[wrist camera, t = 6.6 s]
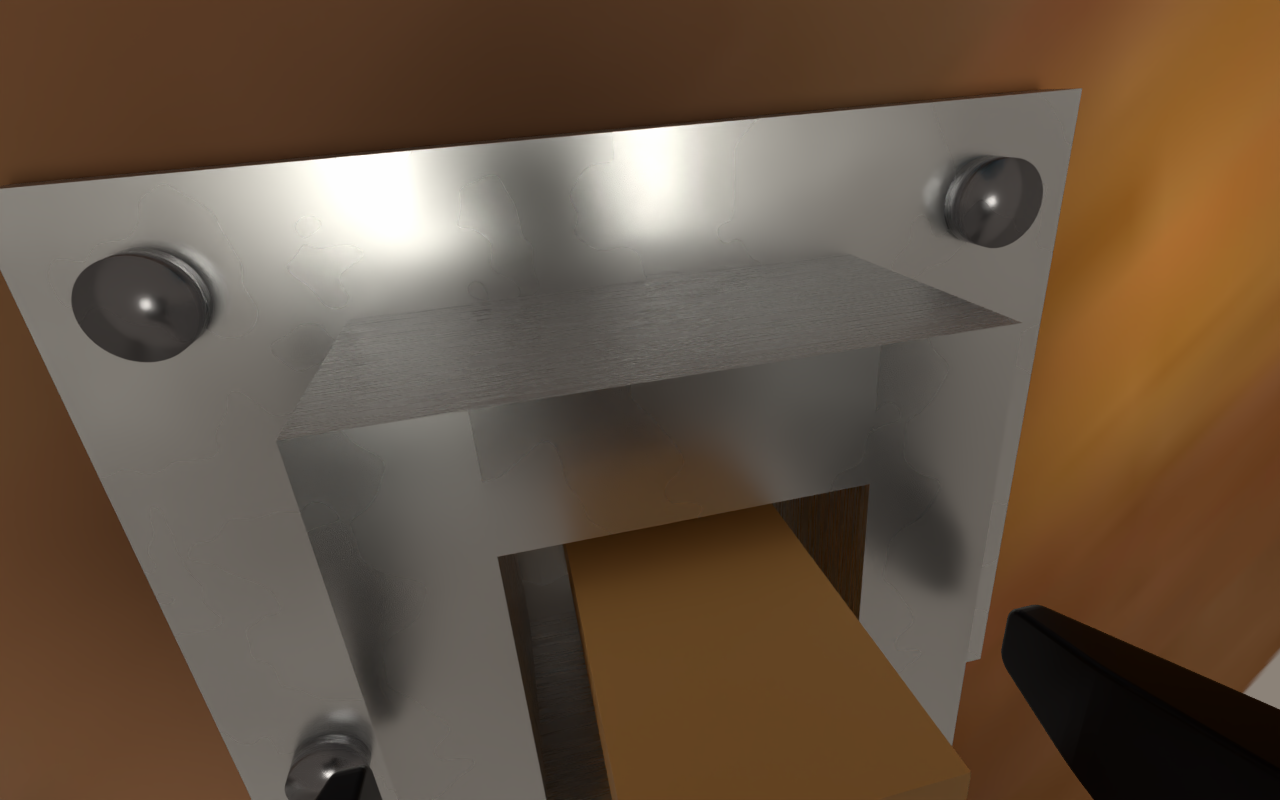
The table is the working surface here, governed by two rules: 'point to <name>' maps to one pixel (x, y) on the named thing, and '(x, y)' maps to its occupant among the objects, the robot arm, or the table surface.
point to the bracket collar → (542, 404)
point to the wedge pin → (743, 672)
